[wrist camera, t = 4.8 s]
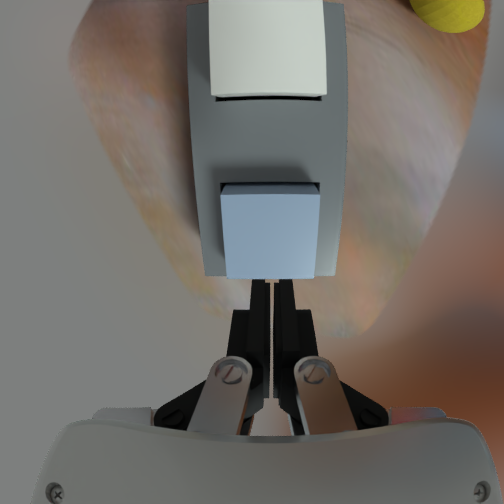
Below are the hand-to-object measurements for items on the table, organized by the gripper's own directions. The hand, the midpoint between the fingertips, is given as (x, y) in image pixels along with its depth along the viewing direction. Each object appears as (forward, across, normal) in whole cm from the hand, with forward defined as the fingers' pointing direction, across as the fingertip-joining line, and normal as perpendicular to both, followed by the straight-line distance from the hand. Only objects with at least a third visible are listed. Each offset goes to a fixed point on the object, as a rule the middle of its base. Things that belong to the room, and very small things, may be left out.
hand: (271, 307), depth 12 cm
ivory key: (+10, 0, -12) cm, 16 cm away
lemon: (+13, -14, -19) cm, 27 cm away
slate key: (+11, 0, 0) cm, 11 cm away
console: (+13, 0, -6) cm, 14 cm away
